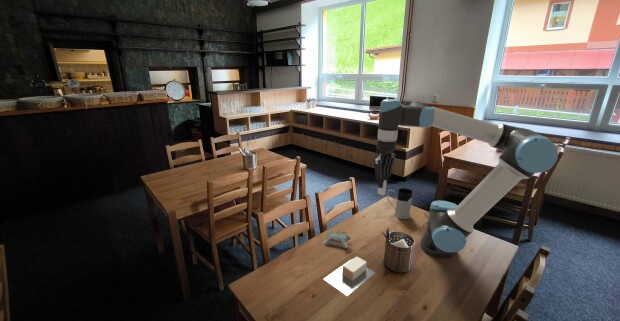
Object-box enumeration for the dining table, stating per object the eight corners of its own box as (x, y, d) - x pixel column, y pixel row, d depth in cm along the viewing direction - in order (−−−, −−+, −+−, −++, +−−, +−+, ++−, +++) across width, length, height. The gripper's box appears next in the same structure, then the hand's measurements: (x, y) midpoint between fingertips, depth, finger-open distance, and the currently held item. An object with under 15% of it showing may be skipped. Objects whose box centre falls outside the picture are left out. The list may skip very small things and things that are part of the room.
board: (351, 261, 124) (351, 258, 124) (375, 275, 116) (375, 272, 115) (323, 281, 112) (323, 279, 112) (347, 298, 104) (347, 296, 103)
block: (342, 274, 114) (356, 264, 120) (352, 281, 111) (366, 270, 117) (342, 266, 113) (356, 256, 119) (352, 272, 110) (366, 262, 115)
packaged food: (347, 252, 130) (347, 242, 128) (322, 246, 134) (322, 237, 132) (350, 241, 138) (351, 232, 136) (327, 237, 141) (327, 228, 140)
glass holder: (408, 220, 157) (411, 195, 152) (383, 213, 164) (385, 189, 159) (411, 213, 164) (415, 189, 159) (387, 207, 171) (389, 184, 166)
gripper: (387, 135, 119) (382, 187, 127) (369, 140, 111) (364, 195, 118) (404, 138, 114) (397, 192, 122) (386, 144, 106) (380, 201, 113)
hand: (381, 194), depth 120 cm, fingers closed
